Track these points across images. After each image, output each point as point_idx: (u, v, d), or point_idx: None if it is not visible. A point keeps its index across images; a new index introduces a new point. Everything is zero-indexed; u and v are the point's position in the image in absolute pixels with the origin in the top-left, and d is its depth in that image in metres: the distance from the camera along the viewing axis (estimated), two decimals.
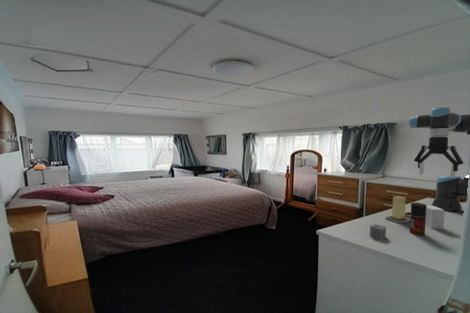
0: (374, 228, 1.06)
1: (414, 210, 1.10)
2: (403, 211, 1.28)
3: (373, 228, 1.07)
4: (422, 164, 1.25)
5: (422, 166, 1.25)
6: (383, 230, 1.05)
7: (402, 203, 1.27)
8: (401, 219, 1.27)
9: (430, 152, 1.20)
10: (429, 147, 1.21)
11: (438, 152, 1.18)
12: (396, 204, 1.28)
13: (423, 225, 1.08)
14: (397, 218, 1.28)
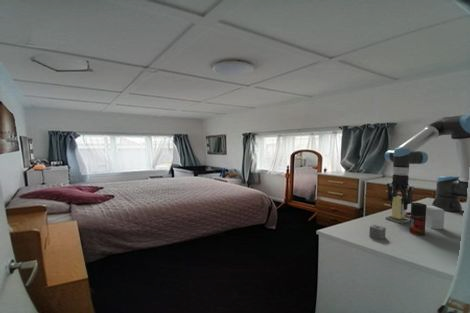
0: (373, 229, 1.06)
1: (414, 210, 1.10)
2: None
3: (372, 229, 1.06)
4: None
5: None
6: (383, 231, 1.04)
7: (402, 203, 1.27)
8: (401, 219, 1.27)
9: (395, 189, 1.29)
10: (393, 183, 1.31)
11: (400, 189, 1.28)
12: (396, 204, 1.28)
13: (423, 225, 1.08)
14: (397, 218, 1.28)
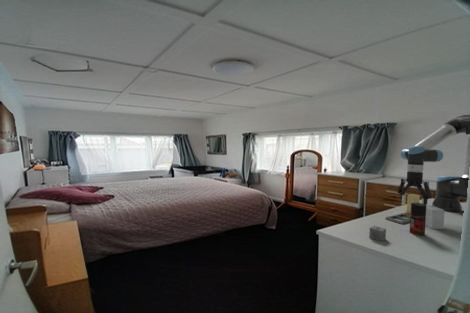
0: (374, 230, 1.04)
1: (414, 210, 1.10)
2: None
3: (373, 230, 1.04)
4: (404, 196, 1.40)
5: (404, 198, 1.40)
6: (383, 232, 1.03)
7: (416, 200, 1.33)
8: None
9: (408, 185, 1.36)
10: (407, 180, 1.37)
11: (414, 185, 1.34)
12: (411, 201, 1.35)
13: (423, 225, 1.08)
14: None
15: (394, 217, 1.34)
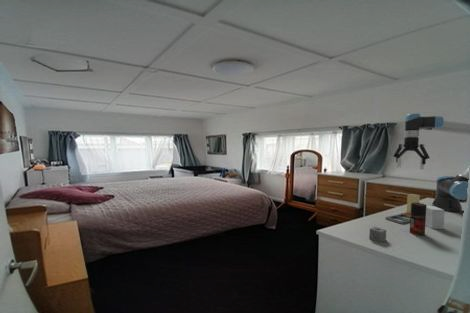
0: (374, 231, 1.03)
1: (414, 210, 1.10)
2: None
3: (373, 231, 1.03)
4: (399, 159, 1.55)
5: (399, 160, 1.55)
6: (383, 233, 1.02)
7: (416, 200, 1.33)
8: None
9: (405, 149, 1.50)
10: (404, 145, 1.51)
11: (411, 149, 1.48)
12: (411, 201, 1.35)
13: (423, 225, 1.08)
14: None
15: (394, 217, 1.34)
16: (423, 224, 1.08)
